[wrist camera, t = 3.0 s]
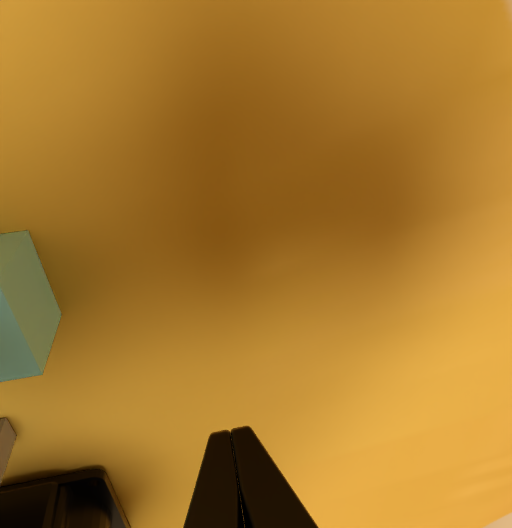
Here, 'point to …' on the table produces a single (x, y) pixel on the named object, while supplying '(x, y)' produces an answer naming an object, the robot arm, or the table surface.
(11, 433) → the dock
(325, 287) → the table surface
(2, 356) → the t block
